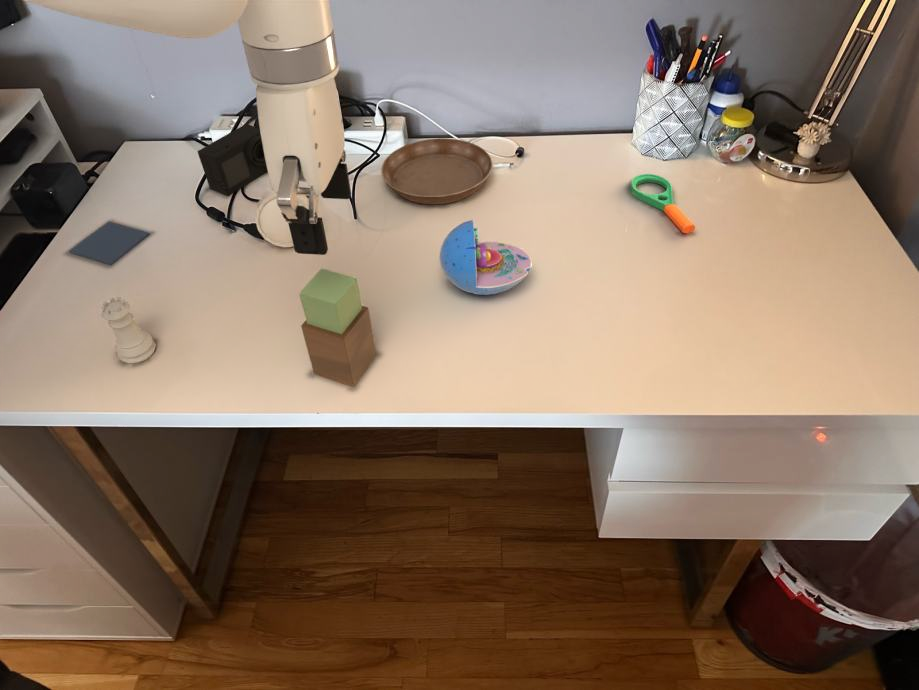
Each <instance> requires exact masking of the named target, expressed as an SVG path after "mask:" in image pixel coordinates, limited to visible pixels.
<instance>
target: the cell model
mask: <svg viewBox="0 0 919 690" xmlns="http://www.w3.org/2000/svg"><path fill="white" fill-rule="evenodd" d="M474 223H475V222H474V220H473V219H470V220H467V221H463V222H462V223H460V224H458V225H457V226H456V227H454V228H452V229H451V230H450V232H448V234H447V235H446V237H445V238H444V239H443V241H442V244H441V246H440V249H439V264H440V267H441V270H442V272H443V274H444V275H445V277H446V278H447V279H448V280H449V282H450V283H451V284H452V285H454V286H455V287H456V288H458V289H460V290H462V291H463V292H467V293H468V294H469V293H470V294H474V295H479V296H481V295H482V296H489V295H496V294H499V293H503V292H506V291H508V290H510V289H512V288H514V287H515V286H517V285H518V284H520V283H521V282H522V281H523V280H524V279H526V277H527V276H528V274H529V272H530V270H531V268H532V264H533V261H532V258H531V256H530V255H529V253H527V252H526V251H525V250H524V249H523V248H524V247H522V246H519V247H518V246H517V245H513V244H510V243H505V242H499V241H479V232H478V227H475V225H474Z"/></svg>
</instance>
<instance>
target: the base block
mask: <svg viewBox="0 0 919 690" xmlns="http://www.w3.org/2000/svg"><path fill="white" fill-rule="evenodd" d="M371 321H372V320H371V315H370V310H369V307H368V306H364V305H362V310H361V311H360V312H359V314H358V315H357V316H356V317H355V319H354V320H353V321H352V322H351V324H350V325H349V326H348V327H347V329H346V330H345V331H344V332H343V334H339V333H336V332H332V331H329V330H326V329H323V328H319V327H316V326H313V325H309V324H307V321H306V320H304V321H303V322H302V324H301V325H300V327H301V330H302V331H301V332H302V334H303V338H304V342H305V346H306V349H307V353H308V358H309V360H310V364H311V367H312V368H311V369H312V372H313V374H314V376H315V375H316V376H318V377H321V378H324V379H328V380H330V381H333V382H337V383H339V384H342V385H345V386H348V387H352V388H355V387H356V385H357V384H358V383H359V382H360V380H361V378H362V377H363V376H364V374H365V372H367V370H368V368H370V366H371V365H372V363H373V362H374V360H375V359H376V357H377V351H376V345H375V339H374V333H373V327H372V322H371Z"/></svg>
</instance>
